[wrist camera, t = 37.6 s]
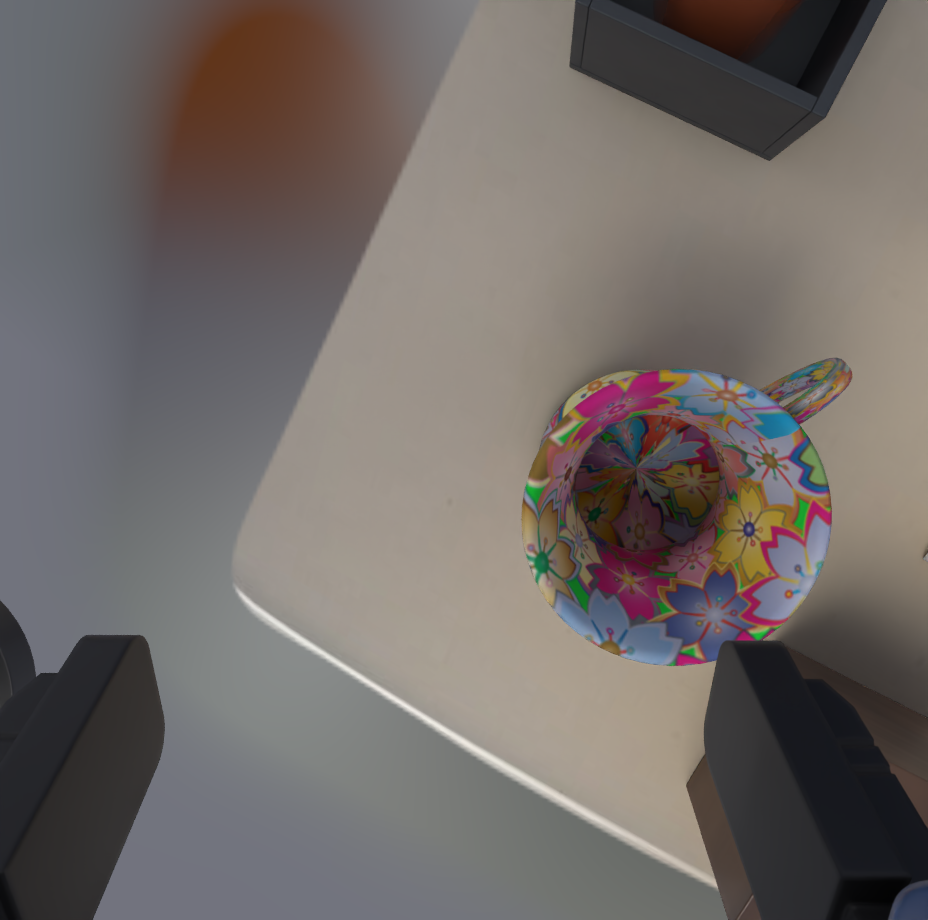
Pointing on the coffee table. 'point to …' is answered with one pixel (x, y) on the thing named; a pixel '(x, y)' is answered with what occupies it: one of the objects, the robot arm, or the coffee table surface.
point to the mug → (680, 509)
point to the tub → (726, 68)
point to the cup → (728, 23)
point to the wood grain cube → (895, 733)
